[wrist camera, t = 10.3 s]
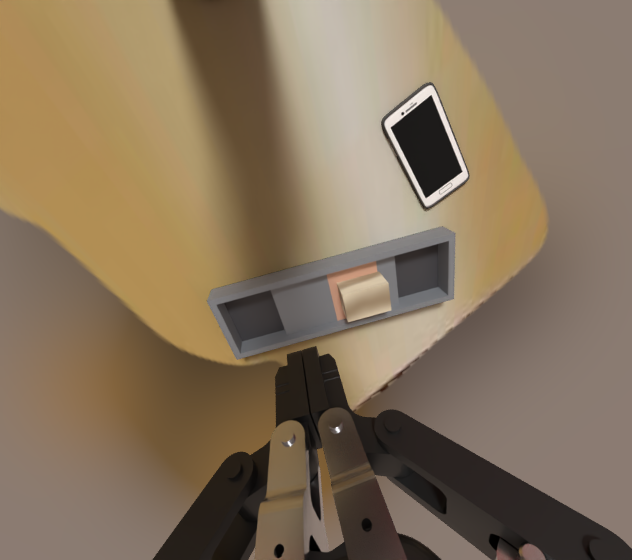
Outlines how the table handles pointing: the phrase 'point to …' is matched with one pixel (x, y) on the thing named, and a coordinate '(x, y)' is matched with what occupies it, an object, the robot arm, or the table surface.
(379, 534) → the robot arm
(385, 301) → the birch block
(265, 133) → the table surface
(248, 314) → the channel
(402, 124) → the cell phone
